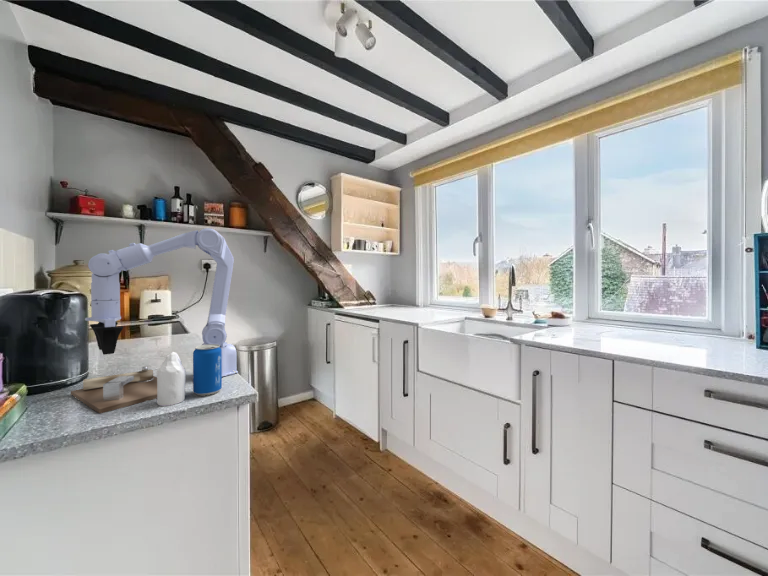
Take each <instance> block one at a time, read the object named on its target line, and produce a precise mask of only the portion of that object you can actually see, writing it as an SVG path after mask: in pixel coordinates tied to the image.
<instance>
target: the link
mask: <svg viewBox="0 0 768 576" xmlns="http://www.w3.org/2000/svg"><path fill="white" fill-rule="evenodd" d="M119 376H134V380H132V381H131V382H136V381H144V380H150V379H152V378H153V376H154V369H148V371H142V370H140V371H134V372H127V373H119V374H114V375H113V374H112V375H107V376H98V377H92V378H85V379H83V381H82V386H83V387H82V389H83V390H87V389H93V388H99V387H103V384H105V383H107V382H109V381H111V380H113V379H115V378H117V377H119Z"/></svg>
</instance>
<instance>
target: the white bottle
mask: <svg viewBox="0 0 768 576" xmlns="http://www.w3.org/2000/svg"><path fill="white" fill-rule="evenodd" d="M156 372H157V373H156V377H157V398H156V403H157V405H158V406H161V407H165V406H166V407H167V406H173V405H176V404H179V403H182V402H184V401H185V399H186V375H187V373H186V368H185V367H184V366H183V362H182V360H181V358H180V355H179V354H178V352H175V351H171V352H170V353H169V354H167V355H166V357H165V359H164V360H163V362H162V363H161V365H160V366H159V368H158V369H157V371H156Z"/></svg>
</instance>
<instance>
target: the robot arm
mask: <svg viewBox="0 0 768 576" xmlns="http://www.w3.org/2000/svg"><path fill="white" fill-rule="evenodd" d="M128 245H129V246H127V247H123V248H120V249H117V250H114V249H111V250H108V251H107V253H104V252H102V253H97V254H96V255H93V256H92V257H91V258H90V259H89V260H88V264H87V266H88V269H89V271H90V272H91V278H90V279H91V283H90V293H91V294H90V300H91V301H90V307H91V308H90V309H91V310H90V311H91V312H90V313H91V317H84V321H87V322H96V323H93V324H89V326H90V327H91V329H92V331H93V333H94V336H95V339H96V343H97V344H96V345H97V347H98V350H99V351H101V353H102V355H111V354H114V353H115V351H116V347H117V343H118V339H119V337H120V336H121V335H120V334H121V333H122V331H123V329H124V326H122V325H120V326H118V324H119V323H118V321H120V320H121V319H122V315H121V283H120V273H121V272H122V271H125V272H127V271H129V270H132V269H133V270H134V269H135V268H139V267H141V266H145V265H147V264H148V265H149V264H150V263H152V261H153V259H154V257H156V256H160V255H162V254H166V253H170V252H173V251H177V250H180V249H182V248H188V249H194V250H196V249H197V247H198V248H199V249H200V250H201V251H203V252H204V253H206V254H207V255H209V256H210V257H211V259H212V260H213V261H214V262H215V263H216V266H215V272H214V273H215V274H214V279H213V285H212V286H213V287H212V290H211V291H212V293H211V299H210V305H209V311H208V317H207V320H206V324H205V326H204V327H203V329H202V331H201V335H202V342H203V343H202V344H201V345H207V344H217V345H220V348H221V350H222V378H223V377H226V376H231V375H234V374H238V373H239V371H238V370H237V369H238V368H237V365H238V363H237V362H238V361H237V360H238V359H237V358H238V356H237V355H238V353H237V349H236V347H235V345H233V343H228V342H226V340H227V337H228V336H227V335H228V334H227V331H226V327H225V326H226V316H227V315H226V314H227V309H228V303H229V296H230V295H229V294H230V289H231V281H232V276H233V269H234V261H235V258H234V256H233V253H232V251H231V249H230V248H229V246H228V243H227V241H226V238H225V237H224V236H223V235H222V234H220V232H218V231H217V230H216V229H214V228H212V227H211V228H210V227H205V228H202V229H200V230H198V229H196V230H191V231H188V232H184V233H181V234H178V235H176V236H172V237H170V238H167V239H164V240H161V241H158V242H155V243H152V244H149V245H148V244H147V245H146V244H144V243H135V242H131V243H129V244H128ZM233 370H234V371H236V373H235V372H234V371H233Z"/></svg>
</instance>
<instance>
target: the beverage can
mask: <svg viewBox="0 0 768 576" xmlns="http://www.w3.org/2000/svg"><path fill="white" fill-rule="evenodd" d="M222 379H223V377H222V350H221V348H220V345H217V344H207V345H202V344H201V345H200V344H199V345H196V346H195V347H194V351H193V352H192V389H193V390H192V392H193V393H194V394H196V395H197V396H199V397H204V396H205V395H207V396H211V395H210V394H212V395H215V394H217V393H219V391H221V390H222V388H223V386H222V385H223V383H222V382H223V381H222ZM216 392H217V393H216ZM214 393H215V394H214Z"/></svg>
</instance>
